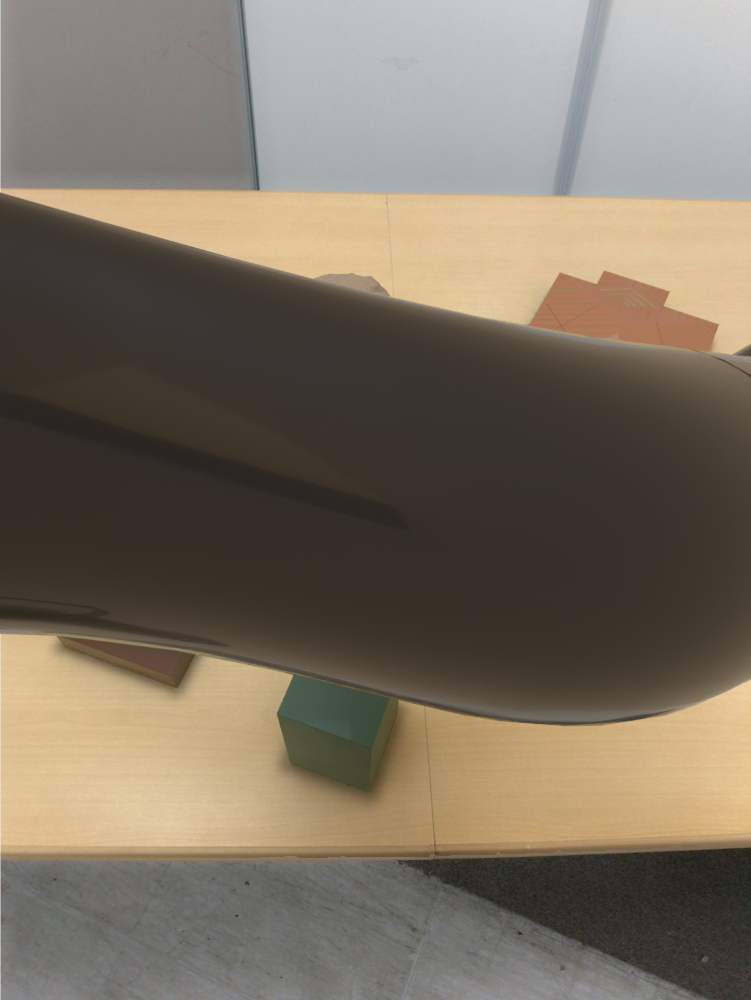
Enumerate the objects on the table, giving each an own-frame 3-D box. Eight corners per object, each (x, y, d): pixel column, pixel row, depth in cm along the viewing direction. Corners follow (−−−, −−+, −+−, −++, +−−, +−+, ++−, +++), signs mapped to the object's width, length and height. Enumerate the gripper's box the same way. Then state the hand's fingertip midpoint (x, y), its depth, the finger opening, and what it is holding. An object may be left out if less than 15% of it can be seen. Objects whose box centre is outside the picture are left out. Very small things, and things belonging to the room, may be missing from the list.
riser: (177, 687, 74) (151, 642, 65) (64, 646, 76) (24, 597, 67) (275, 502, 87) (265, 442, 78) (176, 471, 89) (155, 410, 80)
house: (714, 330, 105) (738, 283, 98) (651, 498, 88) (675, 456, 82) (561, 279, 111) (574, 232, 104) (474, 428, 94) (483, 383, 87)
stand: (369, 793, 69) (371, 748, 57) (290, 763, 70) (276, 714, 58) (397, 713, 73) (404, 656, 61) (321, 686, 74) (314, 626, 63)
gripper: (480, 376, 37) (302, 434, 50) (333, 596, 30) (169, 599, 43) (556, 481, 40) (370, 511, 53) (438, 704, 33) (255, 677, 46)
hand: (280, 550), depth 48 cm, fingers open, 8 cm apart
